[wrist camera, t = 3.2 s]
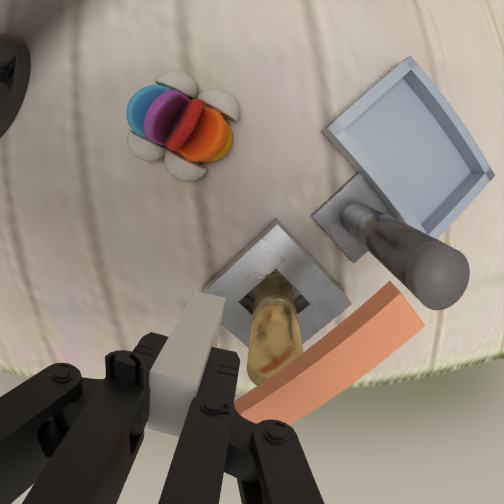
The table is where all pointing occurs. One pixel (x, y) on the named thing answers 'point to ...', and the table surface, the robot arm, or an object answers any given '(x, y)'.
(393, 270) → the gate post
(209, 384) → the robot arm
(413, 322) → the swing bar
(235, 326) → the hitch block
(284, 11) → the table surface
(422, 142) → the tray
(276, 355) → the pin
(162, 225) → the table surface
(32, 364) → the table surface
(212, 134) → the rainbow disc toy
